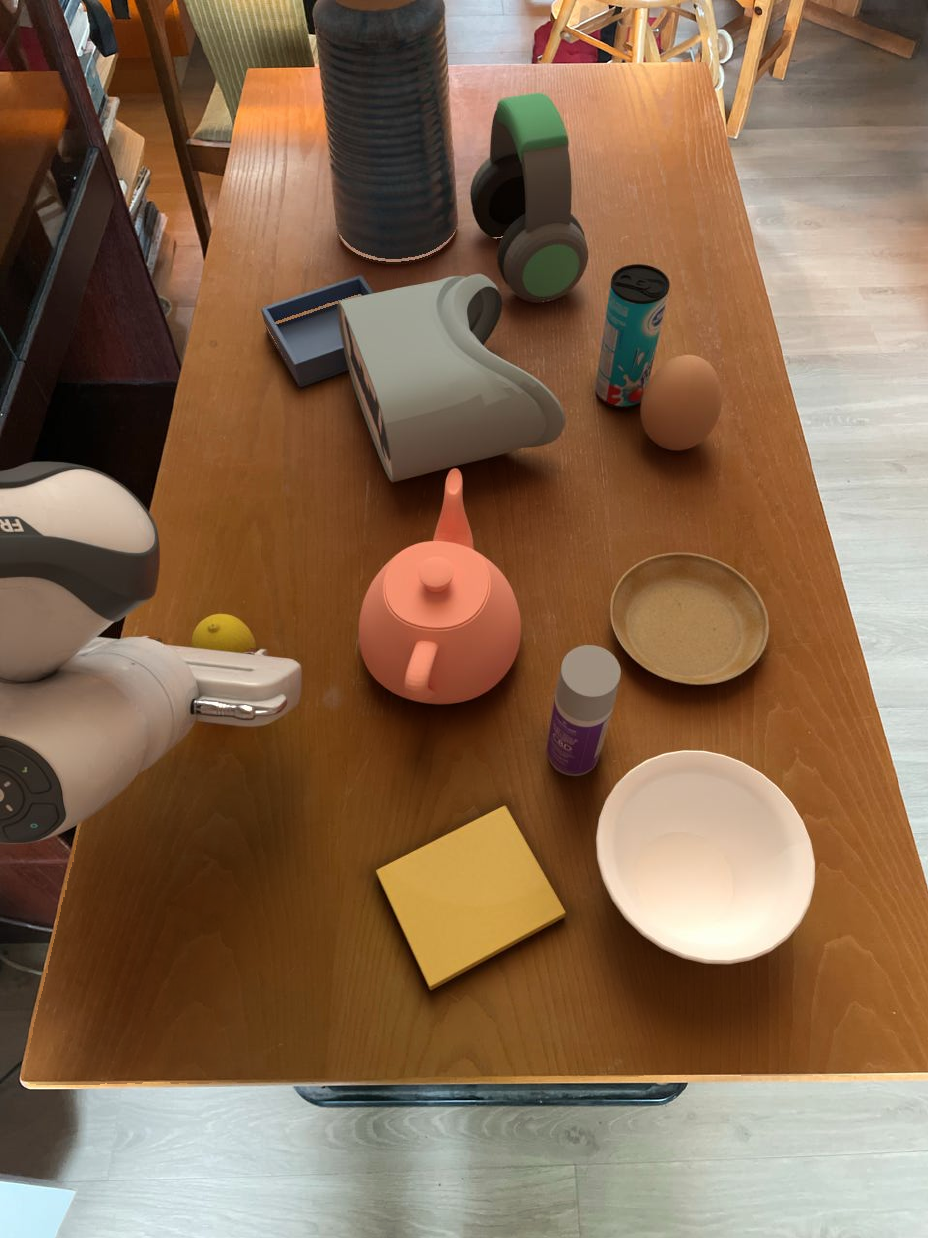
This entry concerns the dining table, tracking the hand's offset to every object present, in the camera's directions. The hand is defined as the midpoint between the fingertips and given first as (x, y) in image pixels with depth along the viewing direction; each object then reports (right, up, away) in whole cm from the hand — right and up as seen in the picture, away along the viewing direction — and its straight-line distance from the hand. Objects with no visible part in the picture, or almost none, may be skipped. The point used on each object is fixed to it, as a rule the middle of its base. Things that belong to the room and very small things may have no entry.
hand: (206, 651), depth 76 cm
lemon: (+1, -2, +7) cm, 7 cm away
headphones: (+30, +49, +39) cm, 70 cm away
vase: (+13, +55, +43) cm, 71 cm away
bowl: (+40, -19, -4) cm, 45 cm away
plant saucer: (+44, +2, +9) cm, 44 cm away
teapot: (+20, +1, +9) cm, 22 cm away
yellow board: (+23, -20, -5) cm, 31 cm away
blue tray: (+6, +37, +31) cm, 49 cm away
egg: (+46, +23, +22) cm, 55 cm away
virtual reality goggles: (+21, +26, +24) cm, 41 cm away
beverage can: (+41, +29, +26) cm, 56 cm away
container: (+32, -9, +2) cm, 33 cm away
